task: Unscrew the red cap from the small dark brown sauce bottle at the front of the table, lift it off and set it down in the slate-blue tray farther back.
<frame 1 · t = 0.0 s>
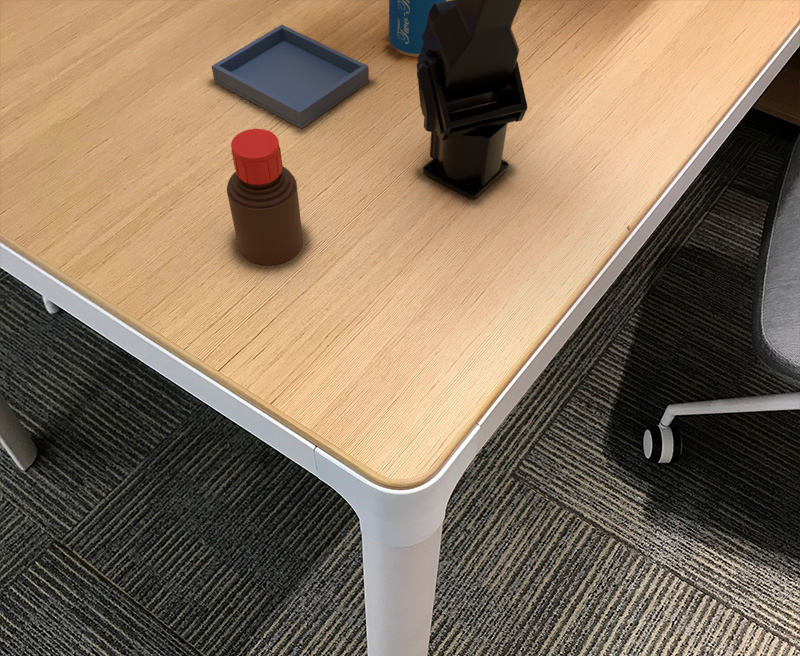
cap: (255, 147, 63), point 10 cm above the table, screwed on, not yet turned
beverage can: (415, 46, 91), on the table
bottle: (270, 242, 71), on the table
tray: (291, 82, 86), on the table
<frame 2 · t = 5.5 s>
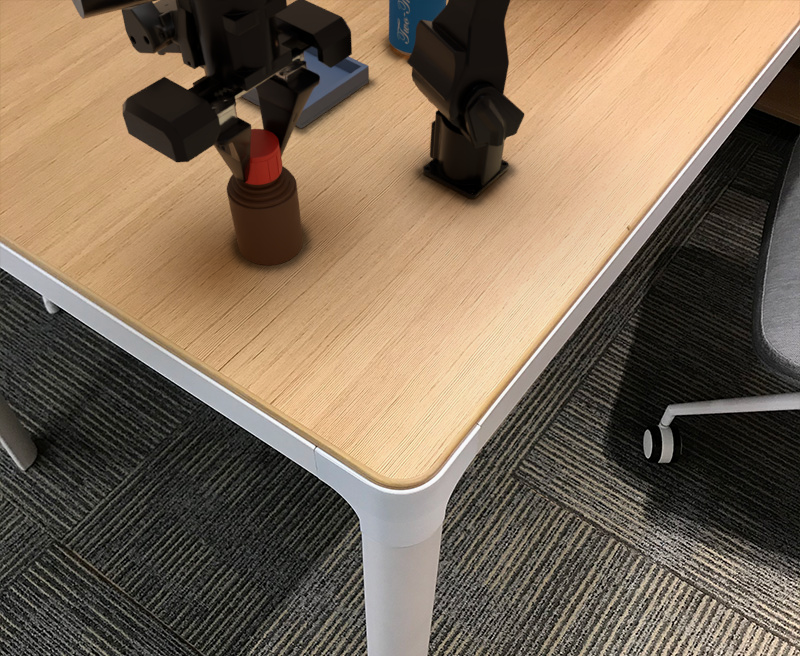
hand: (259, 167, 64), 8 cm above the table, tool pointing down, fingers closed on cap, 4 cm apart
cap: (255, 147, 63), point 10 cm above the table, screwed on, not yet turned, touching gripper
everything else where it was.
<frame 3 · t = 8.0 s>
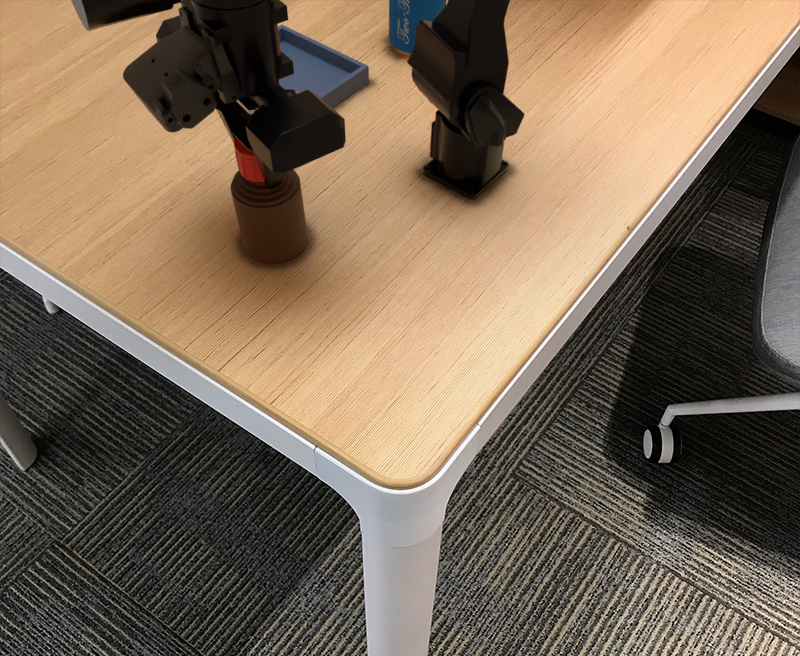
hand: (261, 174, 65), 8 cm above the table, tool pointing down, fingers closed on cap, 4 cm apart
cap: (258, 144, 63), point 11 cm above the table, turned 75° so far, risen 0.1 cm, still on its thread, touching gripper
bottle: (275, 239, 71), on the table, touching gripper
everything else where it was.
when the fingers open (3 cm above the table, at t = 31.6 s): cap drops 2 cm, resting on tray.
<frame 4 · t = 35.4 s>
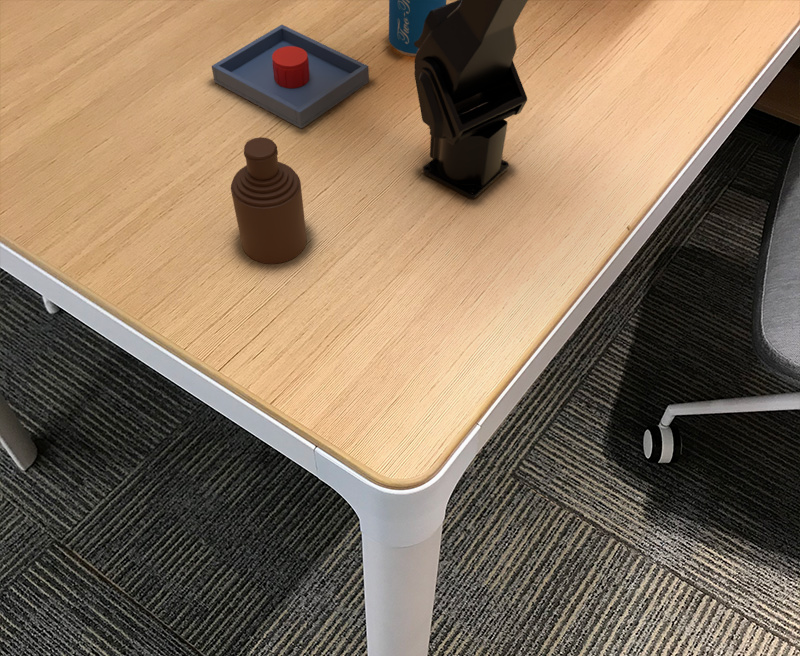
cap: (290, 59, 84), point 3 cm above the table, off its thread, touching tray
bottle: (274, 240, 71), on the table
everything else where it was.
at the end: cap came off its thread; cap inside the target area in the tray (0.1 cm from its centre), point 2.8 cm above the tray's base; the gripper is holding nothing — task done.
